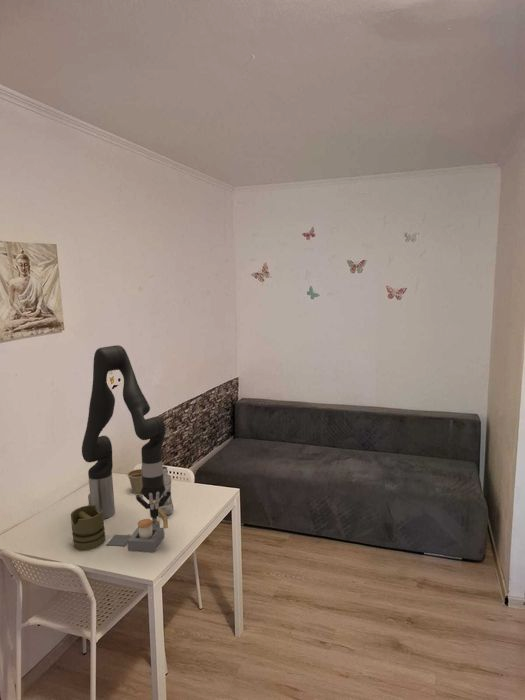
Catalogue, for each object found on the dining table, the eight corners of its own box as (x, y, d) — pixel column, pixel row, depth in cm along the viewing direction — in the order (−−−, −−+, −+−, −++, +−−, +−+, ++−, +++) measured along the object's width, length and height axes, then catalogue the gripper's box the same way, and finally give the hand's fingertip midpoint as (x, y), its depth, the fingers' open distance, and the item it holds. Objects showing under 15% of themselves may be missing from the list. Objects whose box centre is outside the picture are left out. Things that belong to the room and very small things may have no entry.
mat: (106, 545, 179) (106, 544, 178) (115, 535, 185) (114, 534, 185) (124, 546, 177) (124, 545, 177) (132, 536, 184) (132, 535, 184)
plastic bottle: (170, 518, 198) (167, 471, 195) (154, 517, 199) (151, 470, 196) (176, 510, 204) (173, 465, 201) (161, 509, 205) (158, 464, 202)
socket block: (128, 550, 175) (125, 523, 173) (144, 529, 189) (142, 503, 188) (154, 552, 173) (152, 524, 171) (168, 530, 188) (167, 505, 186)
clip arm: (162, 529, 173) (161, 518, 172) (149, 510, 187) (148, 500, 186) (170, 527, 174) (169, 516, 173) (156, 508, 188) (156, 498, 188)
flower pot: (146, 495, 219) (145, 477, 218) (126, 495, 219) (124, 477, 218) (151, 486, 229) (150, 468, 227) (131, 486, 229) (130, 469, 227)
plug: (137, 547, 177) (135, 525, 175) (142, 539, 182) (141, 518, 180) (150, 548, 176) (149, 526, 174) (155, 540, 181) (154, 519, 180)
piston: (93, 502, 187) (108, 511, 180) (96, 531, 189) (111, 541, 181) (65, 513, 179) (79, 523, 171) (68, 543, 181) (82, 554, 173)
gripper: (134, 479, 168) (137, 525, 171) (172, 473, 173) (174, 519, 175) (132, 471, 175) (134, 516, 178) (169, 466, 180) (171, 510, 182)
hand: (154, 517), depth 176 cm, fingers closed
